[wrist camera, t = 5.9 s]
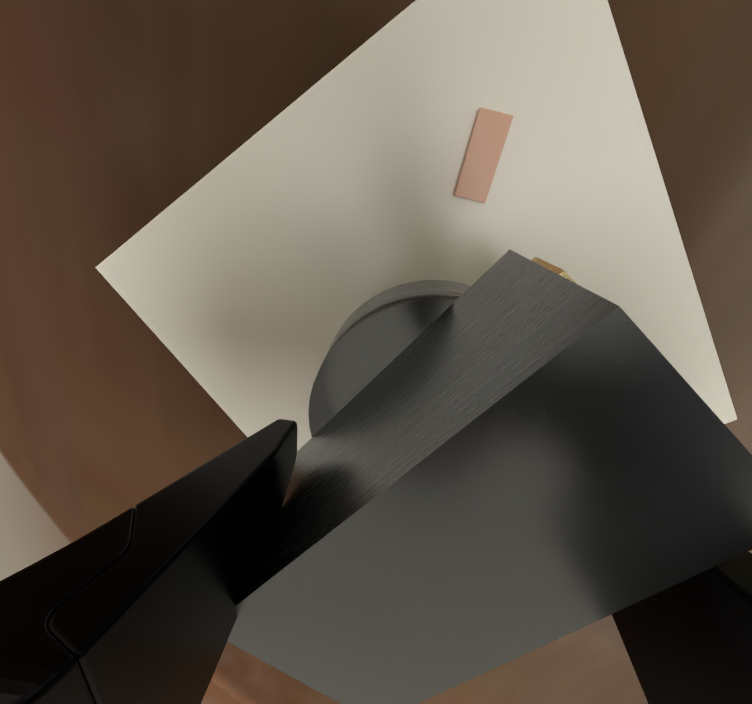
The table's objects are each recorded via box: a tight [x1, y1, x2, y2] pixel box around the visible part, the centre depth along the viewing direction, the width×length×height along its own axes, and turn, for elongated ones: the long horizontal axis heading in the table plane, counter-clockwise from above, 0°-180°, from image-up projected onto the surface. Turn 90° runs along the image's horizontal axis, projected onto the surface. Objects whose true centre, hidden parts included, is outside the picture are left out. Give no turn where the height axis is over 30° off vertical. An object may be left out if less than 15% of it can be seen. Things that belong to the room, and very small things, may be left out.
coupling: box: [227, 249, 752, 704], centre depth 8 cm, size 8×6×6 cm
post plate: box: [95, 0, 737, 451], centre depth 13 cm, size 18×18×4 cm
